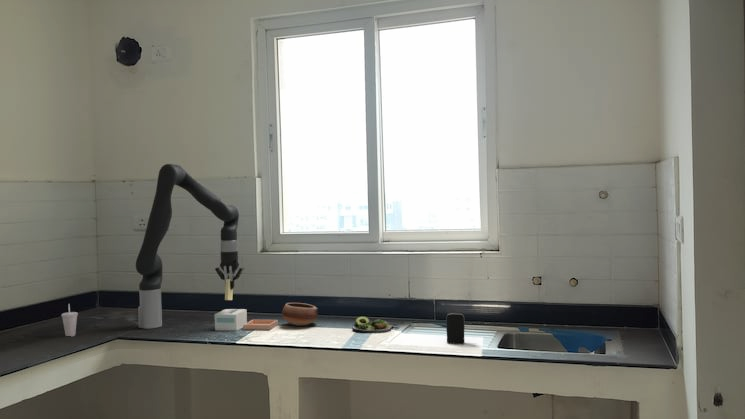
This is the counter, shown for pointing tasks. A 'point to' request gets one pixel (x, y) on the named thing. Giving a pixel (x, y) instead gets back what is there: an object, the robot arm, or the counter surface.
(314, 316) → the bowl
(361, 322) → the salad plate
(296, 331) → the counter surface
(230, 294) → the pale yellow flat piece
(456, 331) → the battery
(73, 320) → the smoothie
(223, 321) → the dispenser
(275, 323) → the dish
